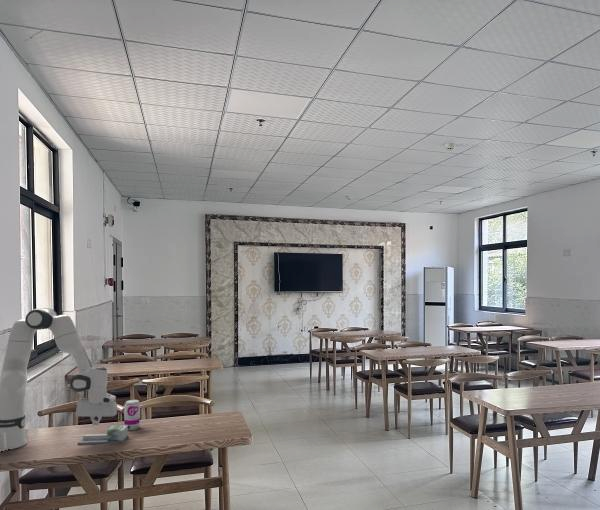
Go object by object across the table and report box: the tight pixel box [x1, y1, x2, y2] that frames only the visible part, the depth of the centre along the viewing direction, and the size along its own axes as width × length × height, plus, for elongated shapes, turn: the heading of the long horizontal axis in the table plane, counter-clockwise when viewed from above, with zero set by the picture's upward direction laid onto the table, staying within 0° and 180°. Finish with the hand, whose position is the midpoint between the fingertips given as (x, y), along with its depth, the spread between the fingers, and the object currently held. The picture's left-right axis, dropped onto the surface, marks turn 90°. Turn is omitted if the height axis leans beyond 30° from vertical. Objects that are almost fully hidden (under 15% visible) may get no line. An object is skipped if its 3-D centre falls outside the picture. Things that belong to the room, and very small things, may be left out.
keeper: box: [106, 424, 124, 440], centre depth 229 cm, size 6×7×5 cm
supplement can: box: [123, 399, 141, 431], centre depth 248 cm, size 8×8×15 cm
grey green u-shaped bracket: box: [77, 425, 129, 446], centre depth 228 cm, size 22×10×6 cm, turn 95°
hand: (95, 424), depth 229 cm, fingers closed
